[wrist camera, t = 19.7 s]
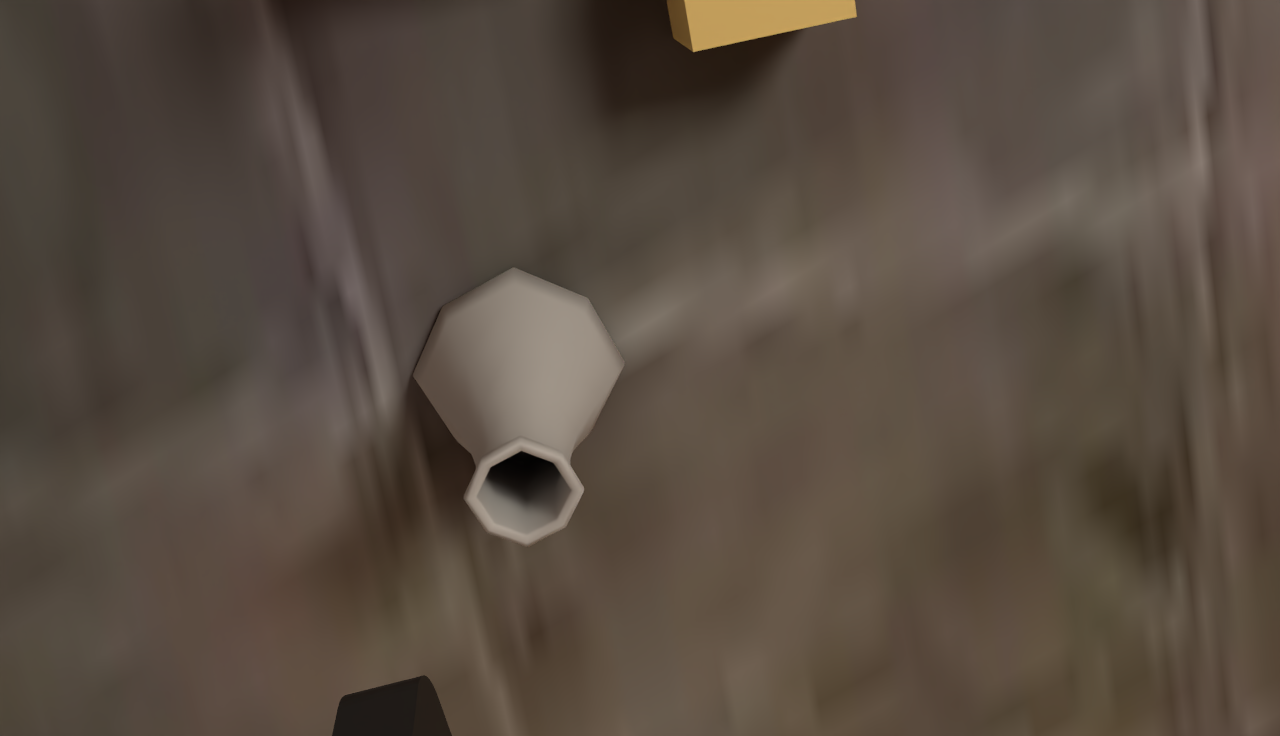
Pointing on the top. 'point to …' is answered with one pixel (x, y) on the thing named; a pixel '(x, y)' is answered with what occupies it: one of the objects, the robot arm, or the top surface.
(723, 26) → the block
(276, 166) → the top surface
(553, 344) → the flask
